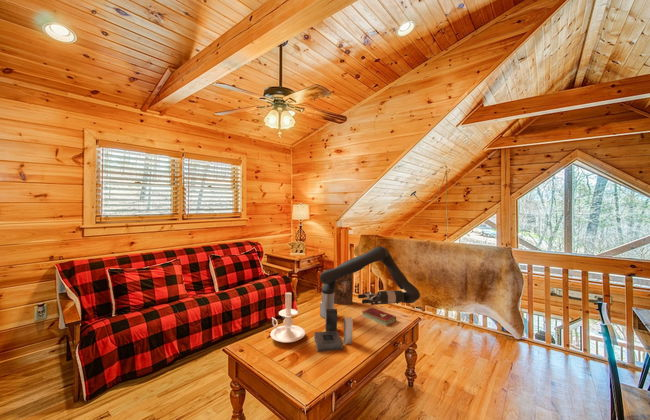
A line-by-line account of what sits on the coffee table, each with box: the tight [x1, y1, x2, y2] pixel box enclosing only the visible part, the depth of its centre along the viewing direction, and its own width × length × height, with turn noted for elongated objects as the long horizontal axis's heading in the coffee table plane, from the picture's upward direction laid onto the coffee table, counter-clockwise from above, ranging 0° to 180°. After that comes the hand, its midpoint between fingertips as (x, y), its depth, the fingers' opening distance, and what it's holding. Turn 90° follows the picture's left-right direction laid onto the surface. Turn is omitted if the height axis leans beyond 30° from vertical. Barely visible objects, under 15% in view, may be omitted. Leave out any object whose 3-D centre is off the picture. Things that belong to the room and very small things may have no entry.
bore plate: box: [313, 330, 344, 353], centre depth 157 cm, size 14×14×4 cm
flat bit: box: [324, 308, 338, 332], centre depth 174 cm, size 7×2×14 cm, turn 100°
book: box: [334, 273, 354, 305], centre depth 221 cm, size 16×6×25 cm, turn 84°
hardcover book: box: [361, 306, 397, 327], centre depth 193 cm, size 12×21×4 cm, turn 43°
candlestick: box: [270, 292, 306, 344], centre depth 164 cm, size 21×25×28 cm
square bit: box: [343, 316, 354, 345], centre depth 160 cm, size 4×4×14 cm
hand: (360, 298), depth 160 cm, fingers open, 8 cm apart
